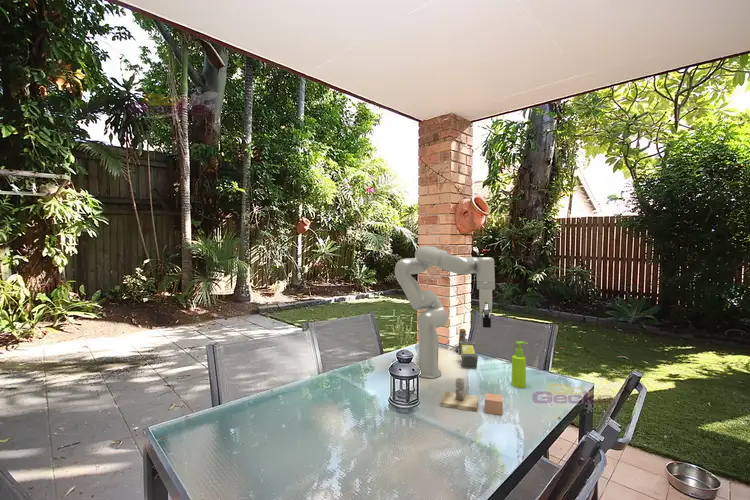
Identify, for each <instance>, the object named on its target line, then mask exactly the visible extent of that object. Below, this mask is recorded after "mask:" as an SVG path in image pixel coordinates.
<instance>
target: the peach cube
mask: <svg viewBox="0 0 750 500" xmlns="http://www.w3.org/2000/svg"><path fill="white" fill-rule="evenodd" d="M503 398H504V397H503V395H502V394H496V393H495V394H494V393H488V392H485V394H484V413H485V414H486V413H487V414H493V415H497V416H498V415H499V416H503V410H504V409H503V407H504V406H503V401H504V400H503Z"/></svg>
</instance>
